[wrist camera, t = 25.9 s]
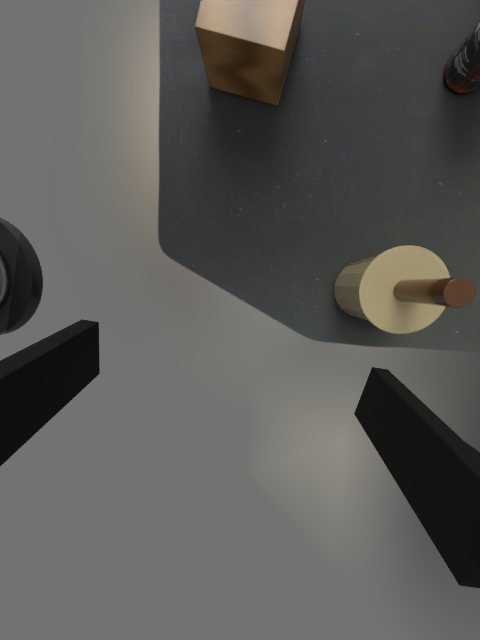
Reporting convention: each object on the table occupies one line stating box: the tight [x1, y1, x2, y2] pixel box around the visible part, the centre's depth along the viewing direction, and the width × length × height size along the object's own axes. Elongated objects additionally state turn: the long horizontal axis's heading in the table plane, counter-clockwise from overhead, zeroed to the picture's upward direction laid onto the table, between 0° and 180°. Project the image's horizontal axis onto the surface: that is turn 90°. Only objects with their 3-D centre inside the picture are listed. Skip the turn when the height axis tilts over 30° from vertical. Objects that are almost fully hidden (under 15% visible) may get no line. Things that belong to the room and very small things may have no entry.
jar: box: [334, 256, 377, 320], centre depth 35 cm, size 9×9×11 cm
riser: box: [195, 0, 305, 106], centre depth 33 cm, size 11×11×9 cm
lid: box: [358, 245, 475, 334], centre depth 25 cm, size 10×10×8 cm
